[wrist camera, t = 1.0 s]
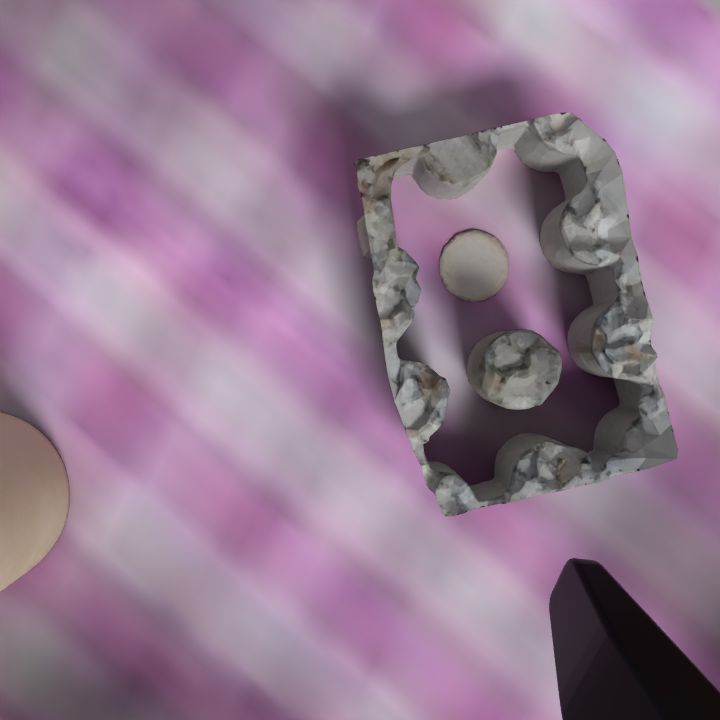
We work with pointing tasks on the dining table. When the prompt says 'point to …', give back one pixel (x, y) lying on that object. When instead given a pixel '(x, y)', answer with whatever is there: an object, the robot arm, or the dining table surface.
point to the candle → (28, 497)
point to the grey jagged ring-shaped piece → (524, 347)
